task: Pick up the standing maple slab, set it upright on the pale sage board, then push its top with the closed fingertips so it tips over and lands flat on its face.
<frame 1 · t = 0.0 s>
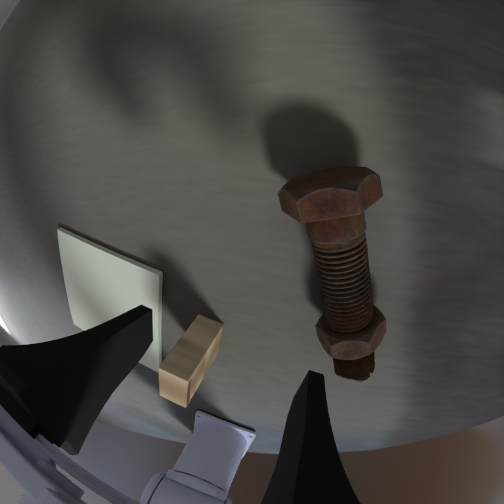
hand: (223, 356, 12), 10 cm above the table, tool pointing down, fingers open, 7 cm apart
slab: (208, 334, 26), on the table
board: (108, 302, 29), on the table
bolt: (345, 274, 20), on the table
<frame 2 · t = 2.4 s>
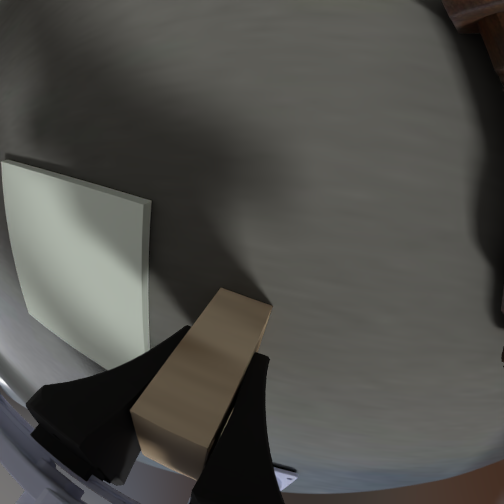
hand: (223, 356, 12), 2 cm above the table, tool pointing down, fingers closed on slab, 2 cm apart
slab: (238, 329, 14), on the table, touching gripper
board: (66, 276, 17), on the table
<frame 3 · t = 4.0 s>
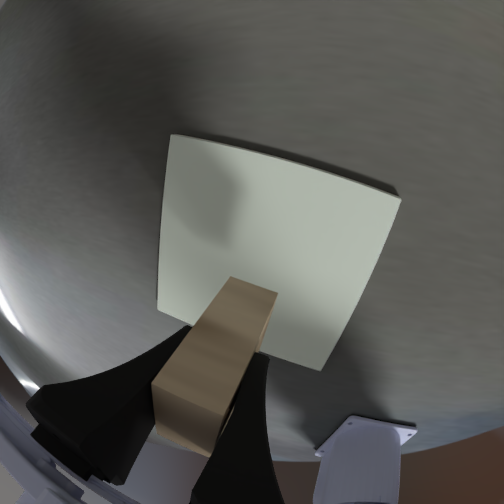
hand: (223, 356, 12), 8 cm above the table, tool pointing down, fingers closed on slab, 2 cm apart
slab: (245, 315, 15), point 5 cm above the table, touching gripper
board: (256, 263, 19), on the table
when the fingers open (3 cm above the table, at t = 5.5 s): slab stays where it is, resting on board.
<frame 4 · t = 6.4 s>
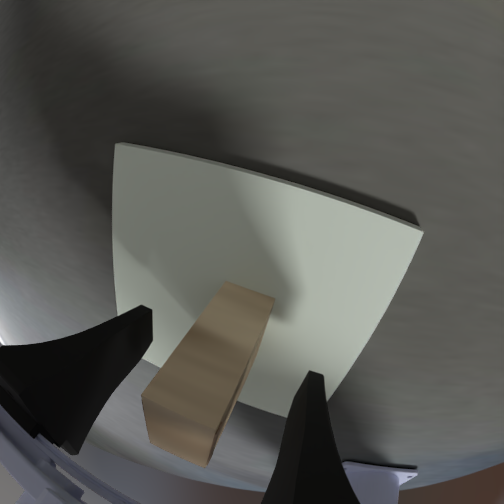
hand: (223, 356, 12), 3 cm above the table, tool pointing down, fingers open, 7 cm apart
slab: (242, 321, 14), point 1 cm above the table, touching board
board: (228, 306, 15), on the table
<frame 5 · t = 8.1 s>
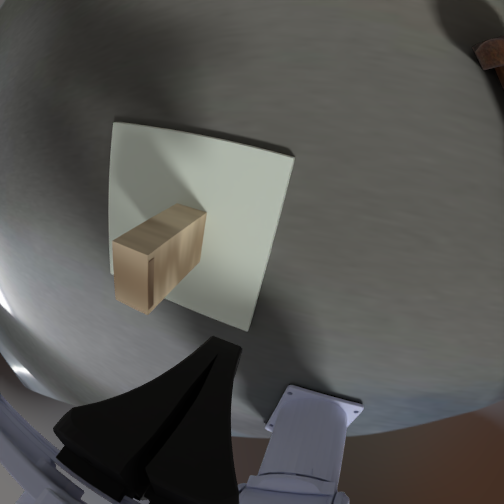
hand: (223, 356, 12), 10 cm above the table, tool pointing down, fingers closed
slab: (188, 233, 21), point 1 cm above the table, touching board
board: (181, 225, 22), on the table
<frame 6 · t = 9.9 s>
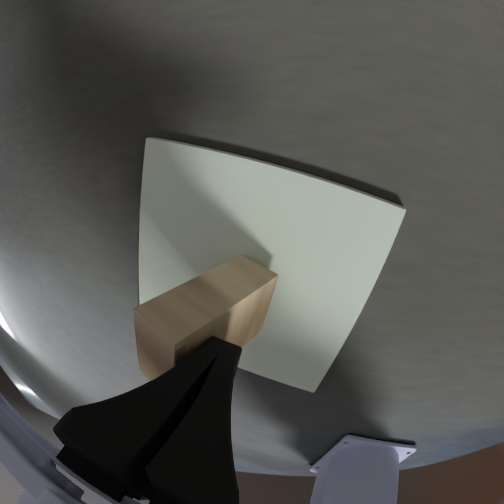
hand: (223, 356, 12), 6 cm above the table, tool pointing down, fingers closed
slab: (251, 294, 16), point 1 cm above the table, tilted 18°, touching board
board: (242, 279, 17), on the table
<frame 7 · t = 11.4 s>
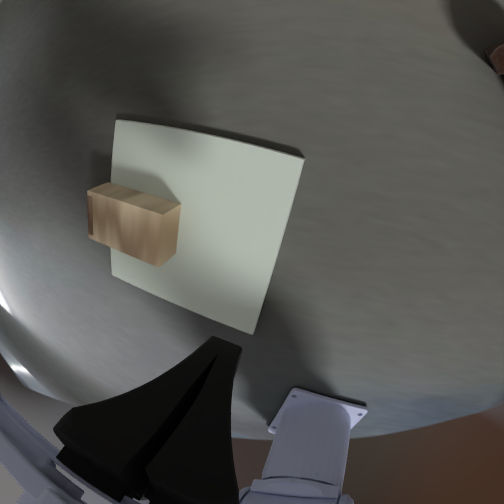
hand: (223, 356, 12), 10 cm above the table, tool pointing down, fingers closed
slab: (169, 235, 20), point 2 cm above the table, tilted 90°, touching board
board: (185, 226, 21), on the table
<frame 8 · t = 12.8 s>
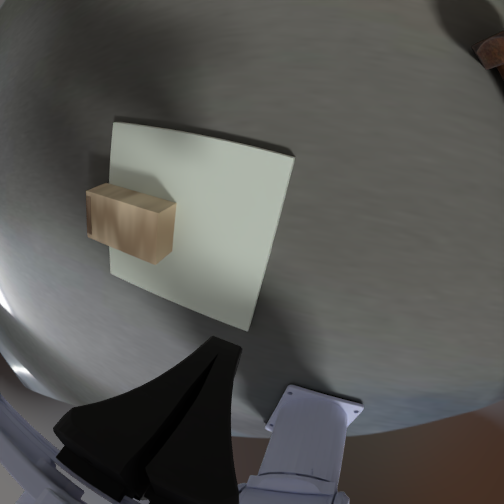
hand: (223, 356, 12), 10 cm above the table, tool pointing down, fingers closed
slab: (165, 234, 20), point 2 cm above the table, tilted 90°, touching board
board: (181, 225, 22), on the table
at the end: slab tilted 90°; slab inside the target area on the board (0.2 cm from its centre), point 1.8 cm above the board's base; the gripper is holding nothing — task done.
